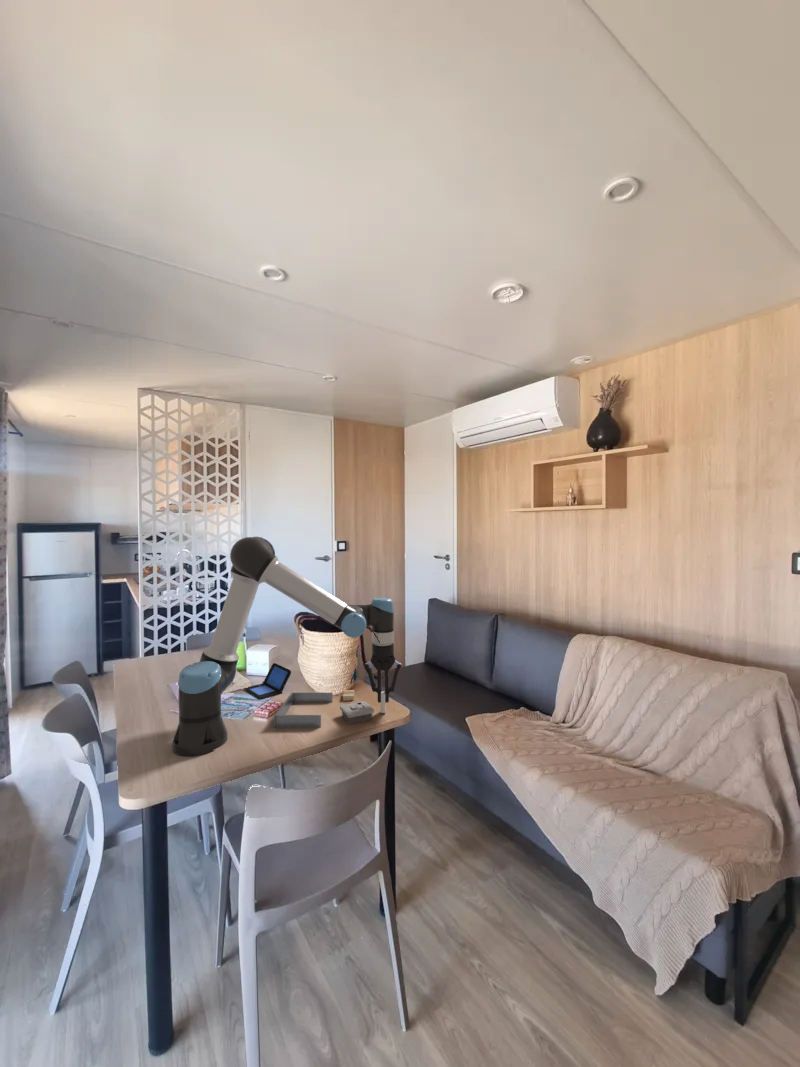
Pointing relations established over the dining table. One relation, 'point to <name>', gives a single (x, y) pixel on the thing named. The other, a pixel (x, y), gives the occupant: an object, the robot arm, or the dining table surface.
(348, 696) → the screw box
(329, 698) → the socket recess
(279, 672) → the handheld game console
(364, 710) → the electrical switch
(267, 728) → the dining table surface
